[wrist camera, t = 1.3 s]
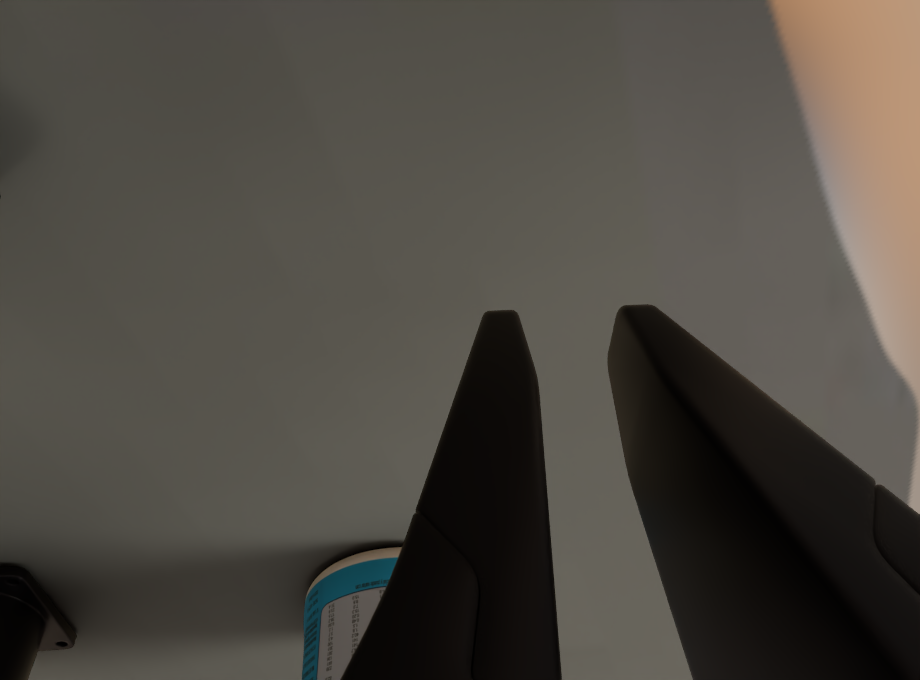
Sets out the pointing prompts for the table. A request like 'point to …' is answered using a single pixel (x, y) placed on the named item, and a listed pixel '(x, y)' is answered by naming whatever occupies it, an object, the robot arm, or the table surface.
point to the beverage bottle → (343, 610)
